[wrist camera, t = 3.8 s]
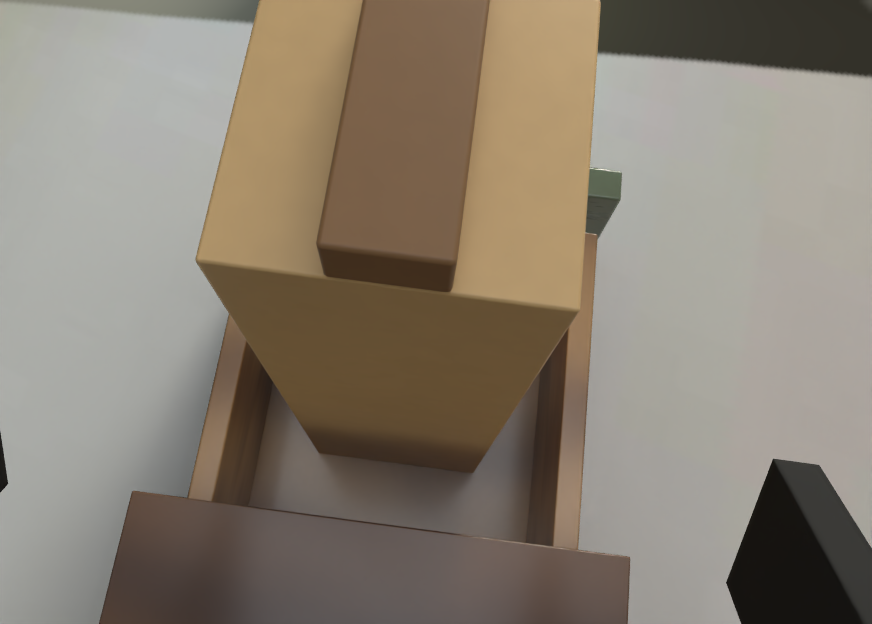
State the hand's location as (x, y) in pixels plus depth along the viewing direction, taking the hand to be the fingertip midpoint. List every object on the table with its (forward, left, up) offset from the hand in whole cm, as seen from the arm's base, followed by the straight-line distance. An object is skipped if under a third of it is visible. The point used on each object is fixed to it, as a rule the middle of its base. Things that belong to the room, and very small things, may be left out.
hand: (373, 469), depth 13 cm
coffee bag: (-2, +5, -17) cm, 17 cm away
